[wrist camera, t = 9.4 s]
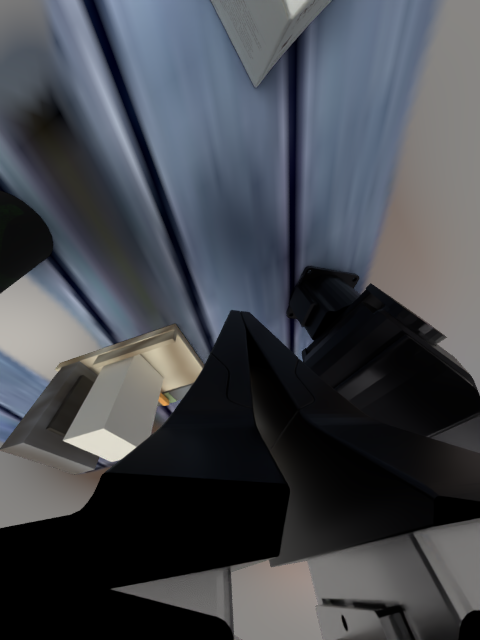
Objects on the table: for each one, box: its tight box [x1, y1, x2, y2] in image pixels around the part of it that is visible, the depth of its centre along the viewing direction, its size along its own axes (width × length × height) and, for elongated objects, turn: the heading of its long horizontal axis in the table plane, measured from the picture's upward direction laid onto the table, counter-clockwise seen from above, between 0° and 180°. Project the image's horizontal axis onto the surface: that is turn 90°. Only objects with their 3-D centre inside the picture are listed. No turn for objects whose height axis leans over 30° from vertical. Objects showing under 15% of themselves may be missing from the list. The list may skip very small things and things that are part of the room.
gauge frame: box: [0, 324, 204, 474], centre depth 24 cm, size 16×12×10 cm
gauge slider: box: [63, 354, 169, 462], centre depth 23 cm, size 4×10×9 cm, turn 19°
